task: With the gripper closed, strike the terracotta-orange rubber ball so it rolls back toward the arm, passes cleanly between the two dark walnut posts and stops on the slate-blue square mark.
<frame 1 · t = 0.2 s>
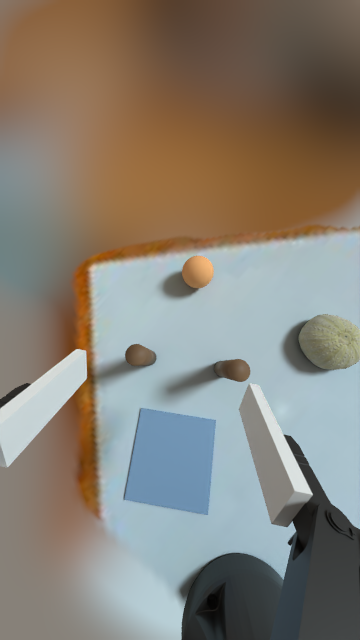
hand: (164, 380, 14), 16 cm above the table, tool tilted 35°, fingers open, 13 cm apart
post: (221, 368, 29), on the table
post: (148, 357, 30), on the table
ball: (197, 272, 31), on the table
sea urchin shell: (319, 343, 31), on the table
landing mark: (172, 457, 26), on the table
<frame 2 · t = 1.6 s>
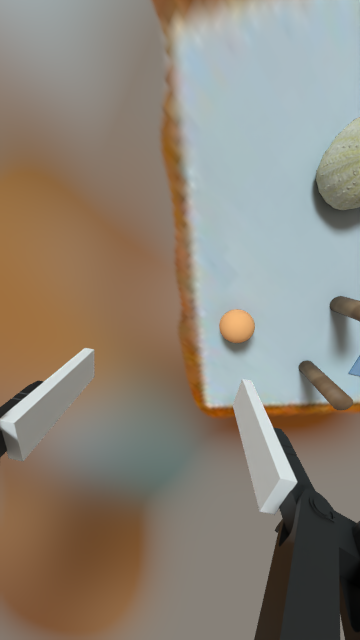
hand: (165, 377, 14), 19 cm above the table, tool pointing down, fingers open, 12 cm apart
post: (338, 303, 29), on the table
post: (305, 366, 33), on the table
ball: (236, 326, 29), on the table
sea urchin shell: (346, 172, 23), on the table
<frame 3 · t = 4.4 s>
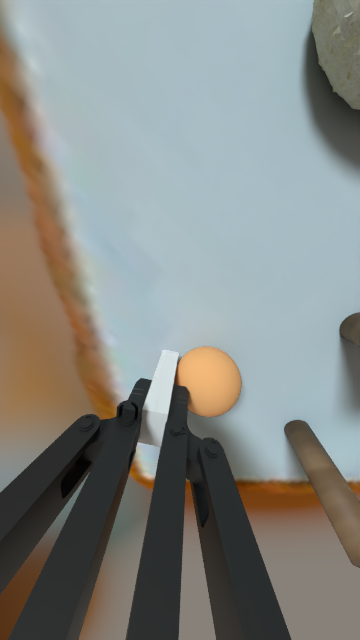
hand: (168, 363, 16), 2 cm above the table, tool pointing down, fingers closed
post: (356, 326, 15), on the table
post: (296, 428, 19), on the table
ball: (206, 379, 15), on the table
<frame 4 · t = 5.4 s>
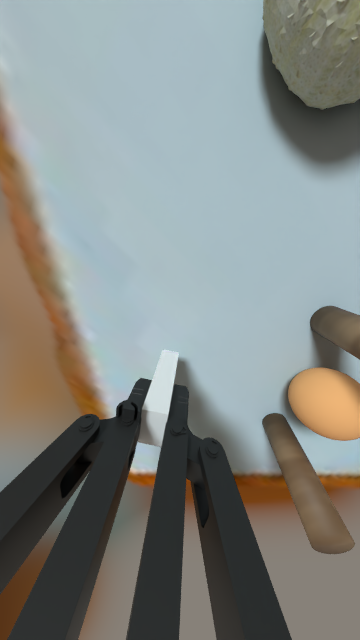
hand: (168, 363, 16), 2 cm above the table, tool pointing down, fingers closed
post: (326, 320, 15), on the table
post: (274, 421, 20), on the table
ball: (326, 401, 15), on the table
sea urchin shell: (338, 15, 10), on the table
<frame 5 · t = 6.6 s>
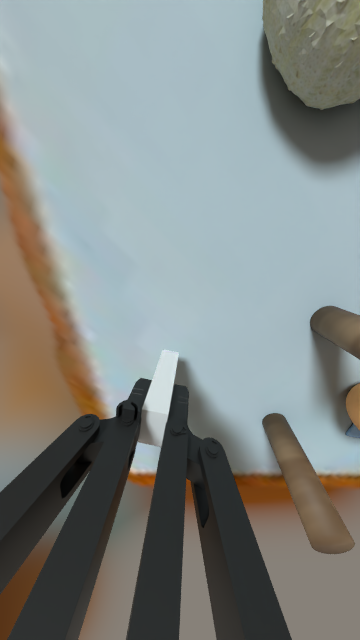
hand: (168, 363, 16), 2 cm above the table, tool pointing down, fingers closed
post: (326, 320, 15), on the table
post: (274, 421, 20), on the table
sea urchin shell: (337, 15, 10), on the table
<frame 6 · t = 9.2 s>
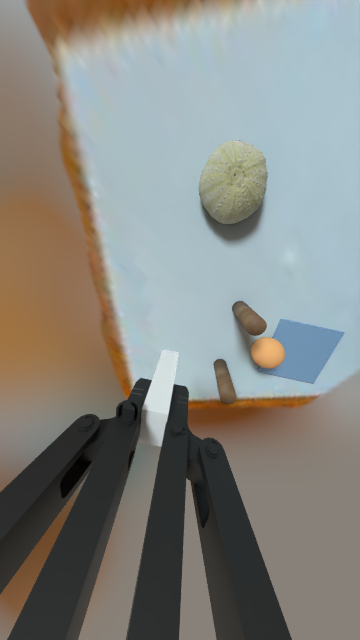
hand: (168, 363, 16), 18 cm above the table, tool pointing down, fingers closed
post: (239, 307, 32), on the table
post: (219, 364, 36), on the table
ball: (267, 352, 31), on the table
sea urchin shell: (229, 190, 26), on the table
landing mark: (297, 352, 34), on the table
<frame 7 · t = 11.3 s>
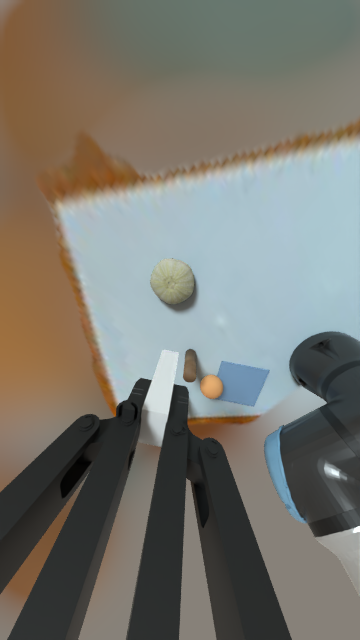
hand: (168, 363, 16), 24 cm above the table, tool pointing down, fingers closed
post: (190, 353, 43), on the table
ball: (211, 386, 43), on the table
sea urchin shell: (173, 280, 38), on the table
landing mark: (238, 384, 45), on the table
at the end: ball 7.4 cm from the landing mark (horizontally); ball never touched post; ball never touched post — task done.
